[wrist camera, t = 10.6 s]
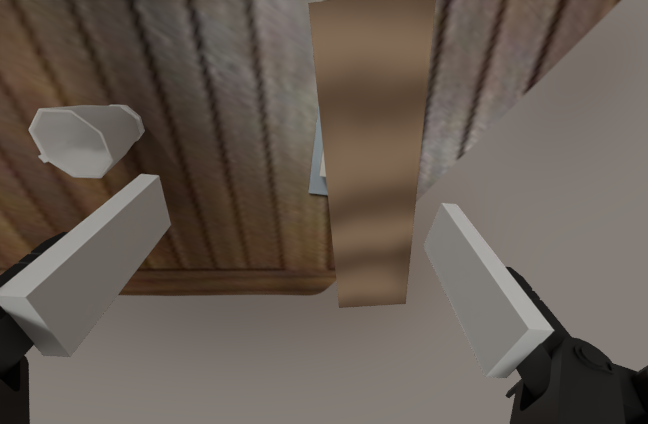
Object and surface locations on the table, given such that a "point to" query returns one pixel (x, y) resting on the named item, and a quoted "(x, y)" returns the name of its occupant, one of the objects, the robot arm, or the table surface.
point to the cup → (85, 137)
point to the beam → (372, 136)
